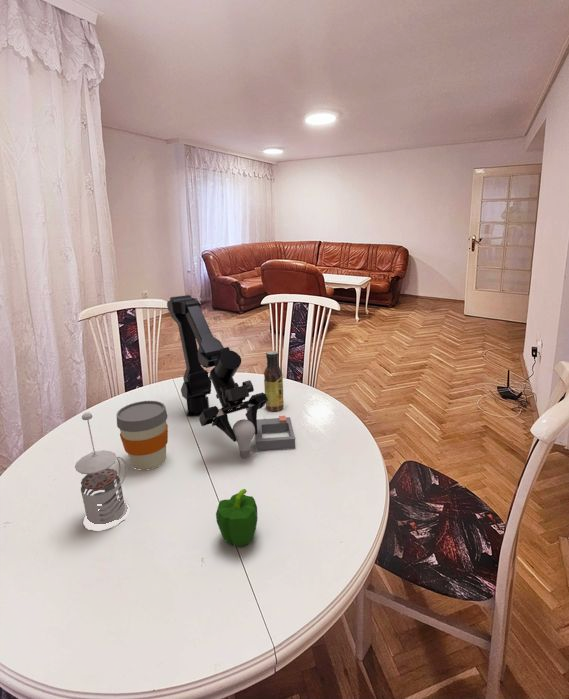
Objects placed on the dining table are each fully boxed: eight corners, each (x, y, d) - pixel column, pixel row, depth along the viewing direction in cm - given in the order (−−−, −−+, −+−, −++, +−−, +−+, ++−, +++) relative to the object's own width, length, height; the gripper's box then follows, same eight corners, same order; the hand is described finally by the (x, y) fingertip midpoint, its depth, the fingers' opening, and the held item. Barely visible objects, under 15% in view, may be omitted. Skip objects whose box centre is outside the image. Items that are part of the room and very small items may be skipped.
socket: (256, 451, 111) (255, 439, 110) (255, 428, 123) (254, 417, 122) (295, 448, 112) (295, 436, 111) (290, 425, 124) (290, 414, 123)
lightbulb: (247, 465, 104) (245, 428, 101) (229, 459, 108) (226, 422, 104) (260, 454, 109) (259, 418, 106) (243, 448, 112) (240, 413, 109)
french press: (71, 525, 86) (47, 420, 78) (112, 492, 96) (94, 396, 88) (107, 536, 82) (85, 428, 75) (145, 501, 92) (129, 402, 85)
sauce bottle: (283, 411, 134) (281, 355, 128) (264, 412, 134) (262, 356, 128) (284, 403, 140) (282, 349, 134) (266, 403, 140) (263, 349, 134)
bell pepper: (231, 560, 75) (227, 516, 72) (211, 534, 82) (207, 493, 79) (268, 539, 80) (266, 497, 77) (247, 517, 86) (244, 477, 83)
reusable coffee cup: (140, 446, 115) (132, 398, 111) (180, 450, 113) (174, 401, 108) (114, 472, 104) (104, 420, 99) (158, 476, 101) (150, 423, 97)
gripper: (198, 380, 100) (221, 438, 94) (263, 365, 109) (286, 416, 104) (190, 399, 108) (210, 452, 103) (251, 382, 118) (272, 431, 113)
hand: (246, 437), depth 105 cm, fingers closed on lightbulb, 6 cm apart
